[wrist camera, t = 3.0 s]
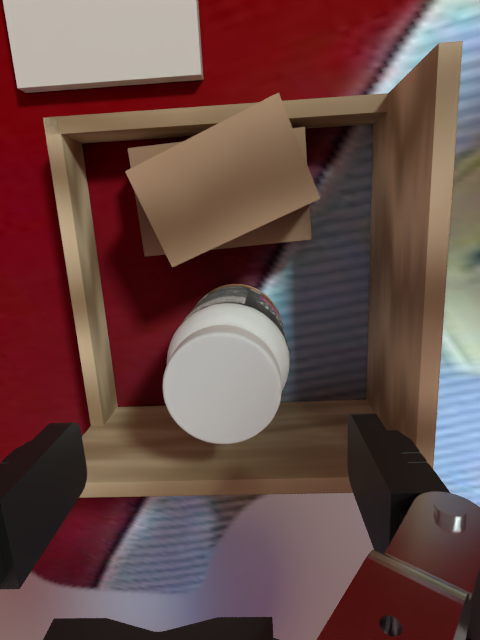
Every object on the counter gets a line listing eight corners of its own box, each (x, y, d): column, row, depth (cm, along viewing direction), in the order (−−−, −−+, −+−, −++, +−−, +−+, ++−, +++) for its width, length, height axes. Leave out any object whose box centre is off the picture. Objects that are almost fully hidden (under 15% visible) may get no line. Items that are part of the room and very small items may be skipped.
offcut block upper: (140, 177, 20) (124, 171, 18) (276, 108, 19) (278, 92, 17) (182, 262, 21) (172, 267, 19) (313, 201, 20) (320, 198, 18)
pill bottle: (294, 352, 25) (317, 432, 15) (210, 381, 26) (183, 475, 16) (263, 268, 24) (267, 298, 14) (176, 300, 25) (124, 350, 15)
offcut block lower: (143, 157, 23) (127, 148, 20) (298, 139, 23) (305, 126, 20) (158, 252, 24) (144, 256, 21) (305, 237, 24) (311, 239, 21)
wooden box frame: (66, 129, 22) (-35, 79, 15) (388, 106, 22) (462, 41, 14) (107, 418, 27) (46, 498, 19) (378, 410, 26) (431, 491, 18)
